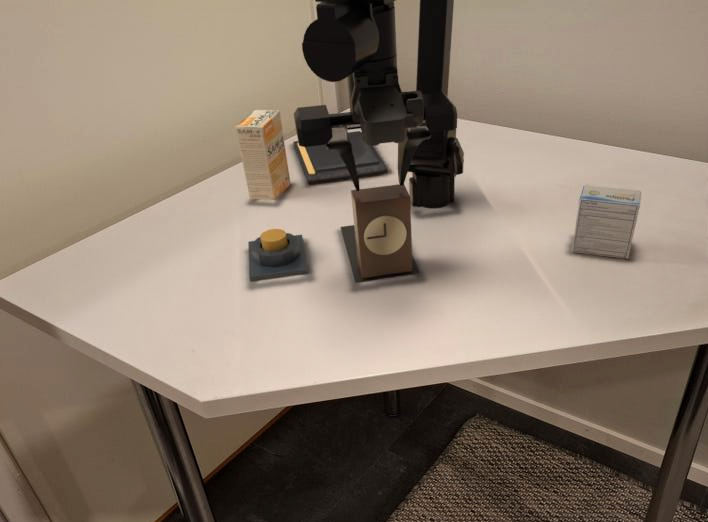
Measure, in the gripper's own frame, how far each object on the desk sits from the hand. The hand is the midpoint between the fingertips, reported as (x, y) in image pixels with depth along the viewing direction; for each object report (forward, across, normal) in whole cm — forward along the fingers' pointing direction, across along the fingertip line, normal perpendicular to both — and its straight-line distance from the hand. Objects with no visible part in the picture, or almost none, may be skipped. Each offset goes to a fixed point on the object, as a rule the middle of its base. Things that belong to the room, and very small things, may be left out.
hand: (379, 187), depth 80 cm
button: (+10, -14, +6) cm, 19 cm away
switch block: (+13, -14, +6) cm, 21 cm away
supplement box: (+13, -14, +30) cm, 36 cm away
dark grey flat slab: (+13, 0, +6) cm, 14 cm away
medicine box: (+13, +32, -2) cm, 34 cm away
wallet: (+13, -1, +42) cm, 44 cm away
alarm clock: (+6, 0, +2) cm, 6 cm away
